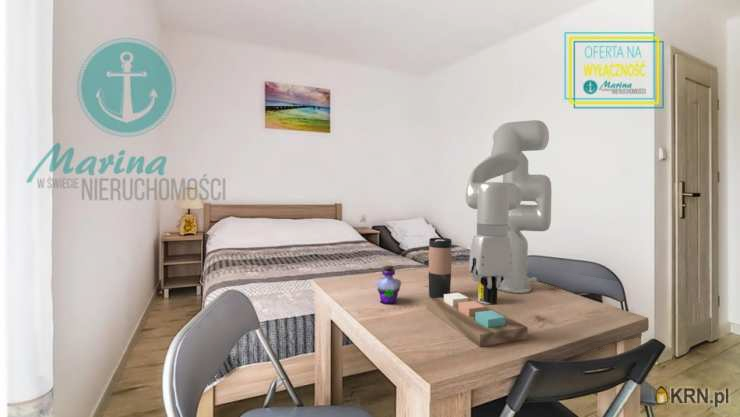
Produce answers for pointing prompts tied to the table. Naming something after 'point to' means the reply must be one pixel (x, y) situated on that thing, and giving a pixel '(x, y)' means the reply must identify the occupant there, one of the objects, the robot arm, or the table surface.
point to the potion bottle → (388, 286)
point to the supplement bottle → (481, 293)
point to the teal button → (489, 319)
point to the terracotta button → (470, 308)
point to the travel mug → (439, 267)
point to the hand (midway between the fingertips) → (490, 302)
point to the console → (477, 324)
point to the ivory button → (454, 299)
